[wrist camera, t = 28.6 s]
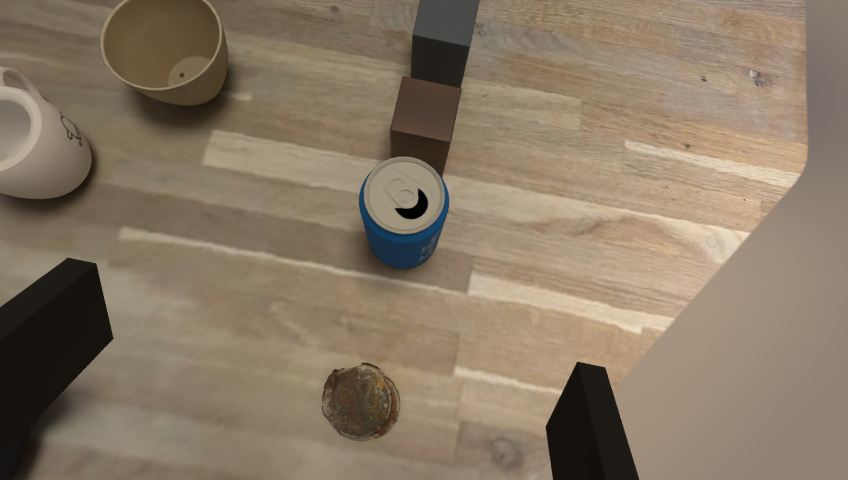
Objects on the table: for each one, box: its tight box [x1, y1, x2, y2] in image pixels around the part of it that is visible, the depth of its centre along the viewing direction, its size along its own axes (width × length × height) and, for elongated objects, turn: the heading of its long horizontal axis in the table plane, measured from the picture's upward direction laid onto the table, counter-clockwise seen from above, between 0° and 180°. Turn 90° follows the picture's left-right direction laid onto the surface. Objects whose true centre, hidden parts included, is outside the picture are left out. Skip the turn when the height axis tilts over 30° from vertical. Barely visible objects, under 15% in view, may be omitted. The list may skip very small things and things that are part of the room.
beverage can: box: [359, 157, 449, 268], centre depth 39 cm, size 6×6×12 cm
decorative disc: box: [322, 363, 400, 441], centre depth 40 cm, size 6×6×1 cm
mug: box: [0, 67, 92, 199], centre depth 41 cm, size 12×8×8 cm
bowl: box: [100, 0, 228, 106], centre depth 44 cm, size 10×10×7 cm
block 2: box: [390, 76, 461, 177], centre depth 43 cm, size 5×5×8 cm
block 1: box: [411, 0, 479, 88], centre depth 45 cm, size 5×5×8 cm
